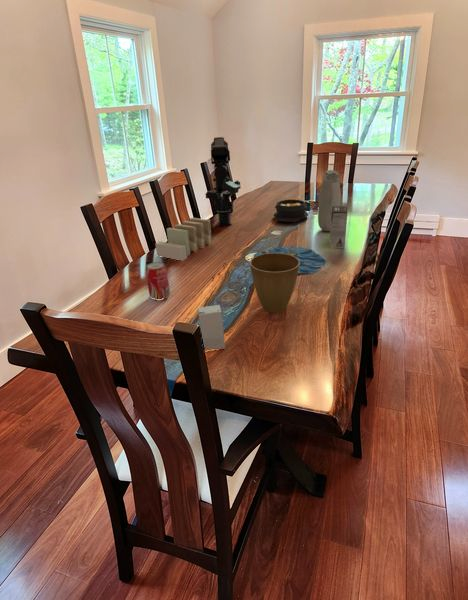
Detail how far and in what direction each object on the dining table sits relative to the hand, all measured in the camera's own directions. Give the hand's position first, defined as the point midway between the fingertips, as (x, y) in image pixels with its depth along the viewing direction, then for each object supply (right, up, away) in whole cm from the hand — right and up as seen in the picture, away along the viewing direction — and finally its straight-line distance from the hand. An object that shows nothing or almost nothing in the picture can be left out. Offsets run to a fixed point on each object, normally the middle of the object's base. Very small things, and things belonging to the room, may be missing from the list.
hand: (223, 209), depth 187 cm
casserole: (+36, +2, +28) cm, 45 cm away
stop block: (-22, -24, -16) cm, 36 cm away
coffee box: (+50, -18, -12) cm, 55 cm away
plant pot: (+18, -45, -60) cm, 77 cm away
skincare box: (-1, -56, -78) cm, 96 cm away
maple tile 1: (-10, -15, 0) cm, 18 cm away
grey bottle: (+51, -9, +6) cm, 52 cm away
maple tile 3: (-16, -20, -8) cm, 26 cm away
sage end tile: (-19, -22, -12) cm, 31 cm away
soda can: (-21, -42, -49) cm, 67 cm away
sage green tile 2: (-13, -17, -4) cm, 22 cm away
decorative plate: (+27, -27, -25) cm, 46 cm away
